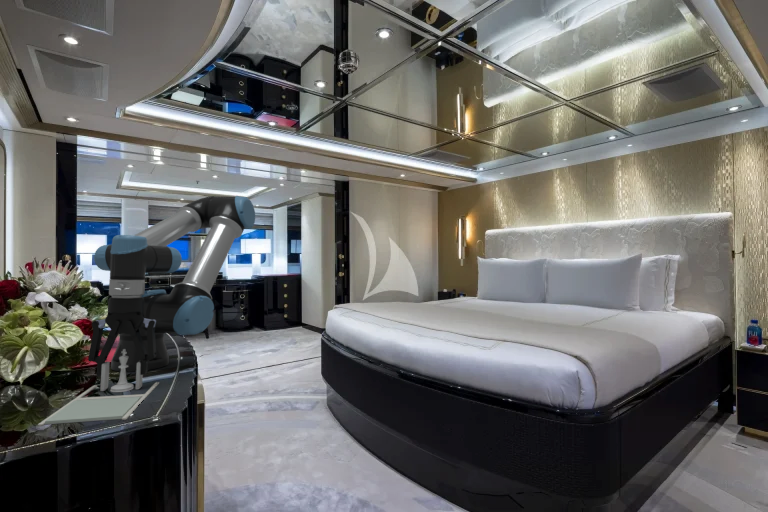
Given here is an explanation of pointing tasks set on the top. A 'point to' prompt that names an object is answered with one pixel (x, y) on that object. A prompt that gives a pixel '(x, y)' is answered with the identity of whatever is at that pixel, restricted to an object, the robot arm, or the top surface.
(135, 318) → the robot arm
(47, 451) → the top surface
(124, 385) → the chess piece
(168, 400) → the top surface
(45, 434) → the top surface
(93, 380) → the top surface
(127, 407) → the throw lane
